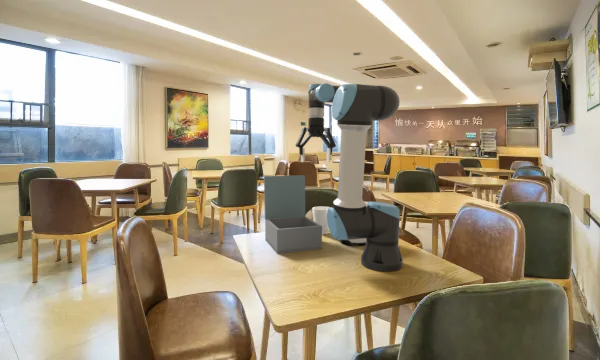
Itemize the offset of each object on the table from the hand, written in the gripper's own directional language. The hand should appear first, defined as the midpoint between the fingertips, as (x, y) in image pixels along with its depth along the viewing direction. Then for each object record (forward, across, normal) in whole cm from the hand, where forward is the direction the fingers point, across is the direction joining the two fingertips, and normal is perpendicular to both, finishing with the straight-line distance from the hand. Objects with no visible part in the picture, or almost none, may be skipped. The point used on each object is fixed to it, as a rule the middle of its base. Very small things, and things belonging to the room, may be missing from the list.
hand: (315, 161), depth 157 cm
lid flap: (+17, +16, 0) cm, 23 cm away
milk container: (+37, -13, +16) cm, 42 cm away
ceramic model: (+37, -5, -16) cm, 40 cm away
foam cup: (+37, -4, -2) cm, 37 cm away
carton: (+36, +16, +11) cm, 41 cm away
